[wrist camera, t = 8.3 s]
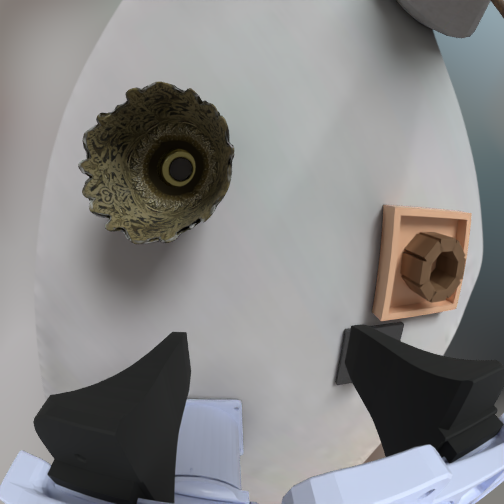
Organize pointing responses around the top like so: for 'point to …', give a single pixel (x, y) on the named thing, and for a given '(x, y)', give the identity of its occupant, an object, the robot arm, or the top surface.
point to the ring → (420, 263)
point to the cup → (156, 163)
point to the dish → (392, 246)
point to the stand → (342, 374)
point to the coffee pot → (450, 14)
